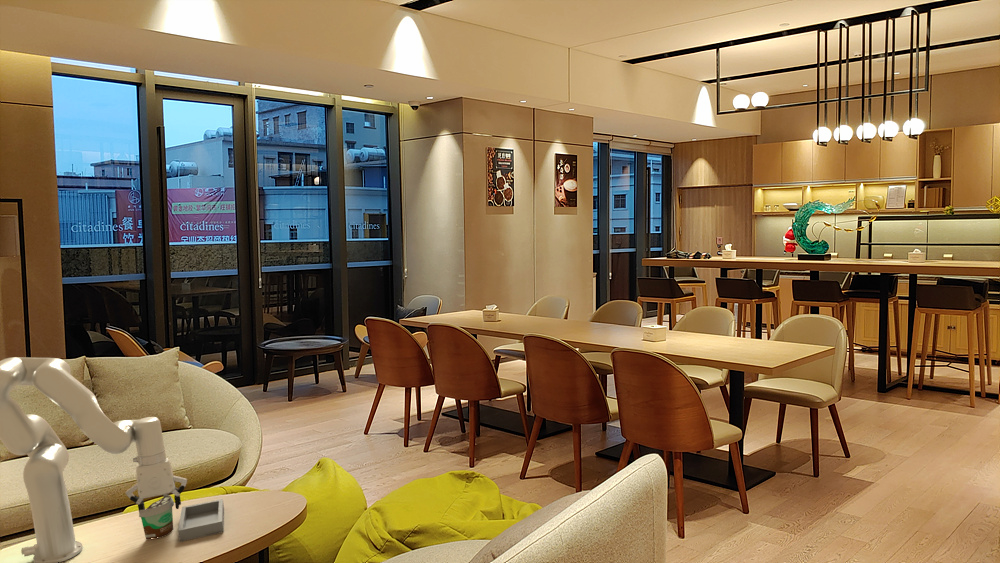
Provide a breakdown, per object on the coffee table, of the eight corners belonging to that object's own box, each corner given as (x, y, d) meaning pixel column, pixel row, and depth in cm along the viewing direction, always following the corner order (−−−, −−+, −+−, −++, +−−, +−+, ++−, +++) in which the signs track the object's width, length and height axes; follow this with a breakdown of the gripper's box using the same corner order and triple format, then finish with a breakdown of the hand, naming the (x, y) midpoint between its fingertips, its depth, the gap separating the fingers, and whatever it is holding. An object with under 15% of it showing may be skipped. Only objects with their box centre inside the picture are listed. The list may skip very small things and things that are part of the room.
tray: (179, 541, 221) (178, 530, 220) (183, 517, 238) (182, 507, 237) (223, 532, 225) (222, 521, 224) (224, 508, 242) (222, 498, 241)
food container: (160, 542, 221) (156, 511, 220) (142, 542, 222) (138, 510, 221) (185, 523, 233) (181, 493, 232) (168, 523, 234) (164, 493, 233)
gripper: (119, 468, 218) (128, 522, 220) (181, 456, 224) (190, 509, 226) (122, 460, 225) (131, 512, 227) (183, 448, 231) (191, 500, 233)
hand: (160, 511), depth 227 cm, fingers open, 9 cm apart
